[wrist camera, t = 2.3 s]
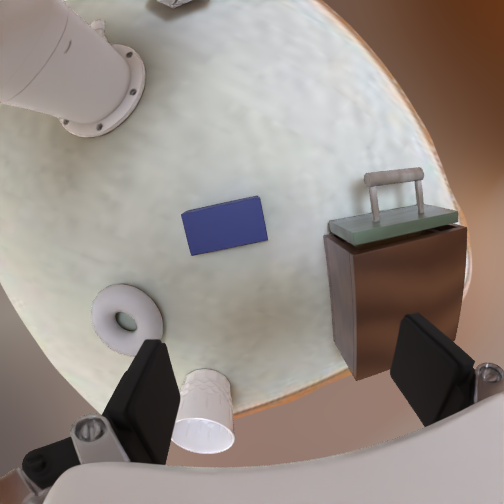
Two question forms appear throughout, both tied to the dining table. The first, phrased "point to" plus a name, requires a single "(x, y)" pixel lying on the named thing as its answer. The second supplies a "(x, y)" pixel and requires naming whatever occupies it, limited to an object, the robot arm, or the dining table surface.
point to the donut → (132, 304)
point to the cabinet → (393, 292)
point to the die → (173, 2)
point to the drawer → (392, 215)
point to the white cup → (205, 413)
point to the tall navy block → (224, 225)
